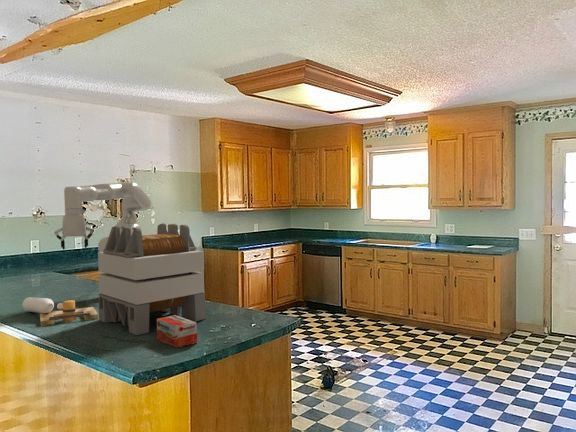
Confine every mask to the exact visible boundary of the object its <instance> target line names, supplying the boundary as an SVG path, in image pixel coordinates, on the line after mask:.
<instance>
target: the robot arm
mask: <svg viewBox="0 0 576 432" xmlns="http://www.w3.org/2000/svg"><path fill="white" fill-rule="evenodd" d="M63 189H64V190H63V192H64V193H63V196H64V197H63V198H64V199H63V200H64V215H62V224H61V226H62V227H60V228H58V229H56V230H55V231H54V232H53V233H54V236H56V239H58V240H59V241H60V245H61V246H60V248H62V250H65V248H66V246H65V245H66V243H65V239H66V237H67V238H69V237H83V238H84V241H83V242H84V248H85V249H88V248H87V247H89V240H90V238H91V237H92V236H93V234H94V232H95V231H94V229H92V228H90V227H87V226H86V225H87V224H86V219H85V215H84V213H86V209H84V208H83V202H87V203H88V202H93V201H109V200H117V199H119V200H120V199H122V202H121V207H122V217H121V218H120V219H119V220H118V222H116V224H115V226H119V227H120V235H121V232H122V229H123V228H121V227H128V228H131V235H132V233H133V231H134V229H132V228H138V229H140V230H141V232H142V227H141V226H140V225H139V224H138V217H137V215H136V212H142V211H143V212H145V211H146V212H147V211H148V210H149V209H150V208H151V207H152V200H151V198H150V196H149V195H148V194H147V193H146V192H145V191H144V190H143V188H142V187H141V186H140V185H139V184H137V183H136V182H133V181H132V182H131V181H130V182H129V181H128V182H113V183H112V182H111V183H98V184H92V185H79V186H77V185H75V186H66V187H64V188H63ZM115 226H114V227H115ZM87 231H88V232H89V233H88V235H87ZM60 232H61V233H62V236H60V234H59V233H60ZM108 237H109V236H106V237H102V238H100V239H99V241H98V245H97V249H98V252H103V250H104V249H105V246H106V243H107V240H108ZM100 274H105V273H104V272H100Z"/></svg>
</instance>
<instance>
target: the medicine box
mask: <svg viewBox="0 0 576 432" xmlns="http://www.w3.org/2000/svg"><path fill="white" fill-rule="evenodd" d="M156 334H157V336H156V339H157V341H160V342H162V343H164V344H166V343H167V344H166V345H168V344H170V345H169V346H171V345H172V346H171V347H173V346H175V347H181V348H183V347H182V346H185V345H187V346H190V345H189V344H193V343H197V344H198V326H197V321H193V320H191V319H188V318H185V317H182V316H180V315H178V316H176V315H169V316H165V317H158V318H156ZM193 345H194V344H193ZM175 347H174V348H175ZM185 347H186V346H185Z"/></svg>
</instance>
